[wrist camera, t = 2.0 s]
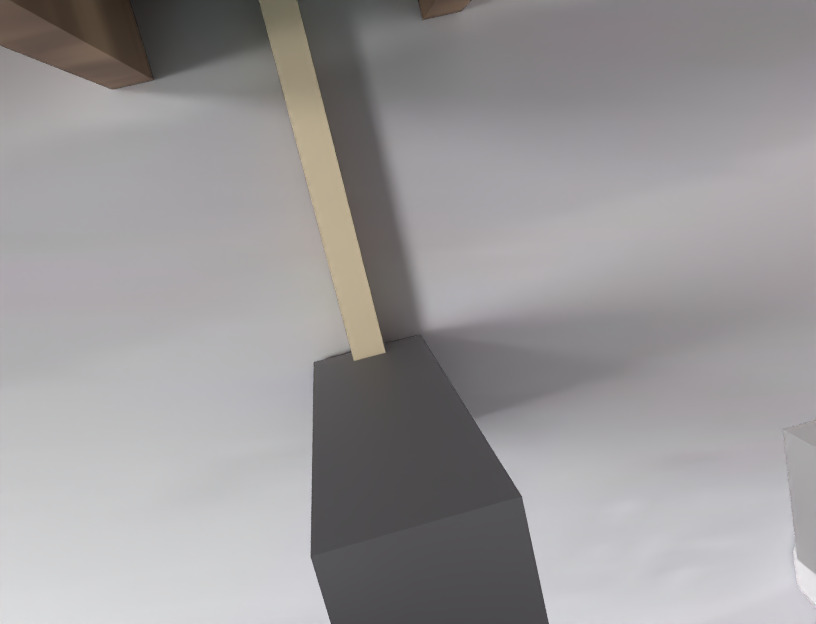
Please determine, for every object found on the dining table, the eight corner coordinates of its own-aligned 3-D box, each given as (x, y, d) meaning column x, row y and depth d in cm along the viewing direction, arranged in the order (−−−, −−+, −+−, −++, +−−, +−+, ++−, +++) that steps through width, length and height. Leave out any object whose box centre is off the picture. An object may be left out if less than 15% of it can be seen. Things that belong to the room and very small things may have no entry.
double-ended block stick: (304, 471, 22) (292, 756, 11) (91, -251, 17) (-280, -944, 6) (479, 423, 22) (627, 652, 12) (320, -293, 18) (326, -1003, 7)
